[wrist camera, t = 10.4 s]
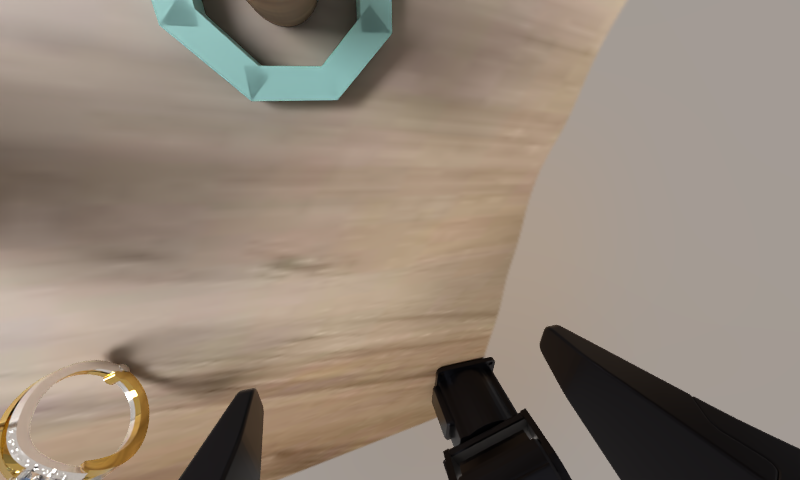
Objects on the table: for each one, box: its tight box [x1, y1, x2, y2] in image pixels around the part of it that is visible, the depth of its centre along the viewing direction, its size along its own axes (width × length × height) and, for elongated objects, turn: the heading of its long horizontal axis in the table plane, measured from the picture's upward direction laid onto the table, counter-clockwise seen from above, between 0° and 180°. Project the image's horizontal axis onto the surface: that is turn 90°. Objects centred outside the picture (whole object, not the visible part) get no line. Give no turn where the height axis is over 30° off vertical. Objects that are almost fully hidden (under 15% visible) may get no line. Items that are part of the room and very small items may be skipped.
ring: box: [0, 360, 149, 480], centre depth 18 cm, size 7×3×8 cm, turn 21°
